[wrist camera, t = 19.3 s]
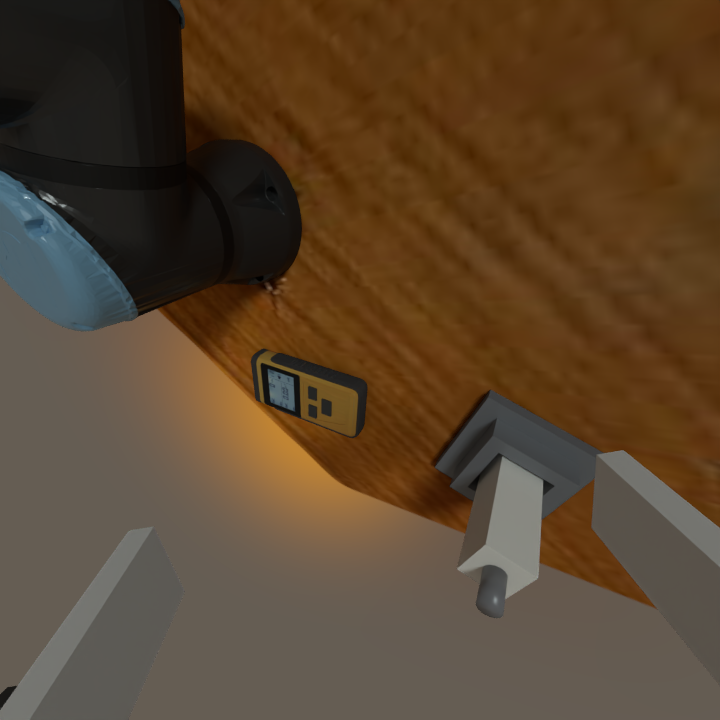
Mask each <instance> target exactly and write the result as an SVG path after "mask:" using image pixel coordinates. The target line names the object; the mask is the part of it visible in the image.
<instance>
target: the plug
mask: <svg viewBox="0 0 720 720" xmlns="http://www.w3.org/2000/svg"><path fill="white" fill-rule="evenodd" d="M542 496H543V479H542V478H541V477H539V476H537V475H535V474H534V473H532V472H530V471H529V470H527V469H525V468H524V467H522V466H520V465H519V464H517V463H515V462H513V461H512V460H510V459H508V458H507V457H505V456H503V455H502V454H500V453H498V454H497V455H496V456H495V457H494V459H493V460H492V461H491V462H490V463H489V464H488V465H487V466H486V467H485V468H484V469H483V471H482V472H481V473H480V477H479V481H478V485H477V489H476V493H475V497H474V501H473V505H472V509H471V513H470V517H469V521H468V525H467V530H466V534H465V538H464V542H463V546H462V550H461V554H460V558H459V562H458V566H457V569H458V570H459V571H461V572H462V573H464V574H465V575H467V576H468V577H470V578H471V579H473V580H474V581H475V582H477V583H478V584H480V585H479V590H478V595H477V601H476V606H477V608H478V609H479V610H480V611H481V612H482V613H483V614H485V615H487V616H489V617H493V618H500V617H502V616H503V612H504V604H505V599H506V598H508V597H509V596H511V595H512V594H514V593H516V592H517V591H519V590H521V589H522V588H524V587H525V586H527V585H528V584H530V583H531V582H533V581H535V580H536V579H538V573H539V554H540V535H541V516H542Z"/></svg>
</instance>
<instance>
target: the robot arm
mask: <svg viewBox="0 0 720 720" xmlns="http://www.w3.org/2000/svg"><path fill="white" fill-rule="evenodd" d="M184 25H185V18H184V13H183V10H182V7H181V5H180V0H0V276H1V277H2V278H3V279H4V280H5V281H6V282H7V283H8V285H9V286H10V287H11V288H12V289H13V290H14V291H15V292H16V293H17V294H18V295H19V296H20V297H21V298H22V299H23V300H24V301H26V302H27V303H28V304H29V305H30V306H31V307H33V308H34V309H35V310H36V311H38V312H39V313H40V314H42V315H43V316H45V317H46V318H47V319H49V320H51V321H52V322H54V323H56V324H58V325H60V326H62V327H65V328H68V329H72V330H76V331H93V330H97V329H100V328H103V327H106V326H110V325H113V324H116V323H120V322H123V321H132V320H134V319H135V318H137V317H138V316H140V315H143V314H145V313H148V312H150V311H152V310H155V309H157V308H160V307H162V306H165V305H167V304H169V303H172V302H174V301H177V300H179V299H182V298H184V297H187V296H189V295H191V294H194V293H196V292H199V291H201V290H204V289H206V288H208V287H211V286H214V285H216V284H244V285H253V284H260V283H264V282H266V281H269V280H271V279H273V278H275V277H278V276H279V275H281V274H282V273H284V272H285V271H286V270H287V269H288V268H289V267H290V266H291V264H292V263H293V261H294V259H295V257H296V255H297V252H298V249H299V246H300V241H301V230H302V228H301V214H300V208H299V204H298V200H297V197H296V194H295V191H294V189H293V187H292V184H291V182H290V180H289V179H288V177H287V175H286V174H285V172H284V170H283V169H282V168H281V166H280V165H279V164H278V163H277V161H276V160H275V159H274V158H273V157H272V156H271V155H270V154H268V153H267V152H266V151H265V150H263V149H262V148H260V147H259V146H257V145H255V144H253V143H250V142H247V141H243V140H228V139H221V140H215V141H210V142H208V143H206V144H204V145H202V146H201V147H199V148H197V149H195V150H193V151H191V152H189V153H187V154H186V133H185V109H184V85H183V62H182V38H181V29H184ZM592 529H593V530H594V531H595V533H596V534H597V535H598V536H599V538H600V539H601V540H602V541H603V542H604V544H605V545H606V546H607V547H608V549H609V550H610V551H611V552H612V554H613V555H614V556H615V557H616V558H617V560H618V561H619V562H620V563H621V565H622V566H623V567H624V568H625V570H626V571H627V572H628V573H629V574H630V576H631V577H632V578H633V579H634V581H635V582H636V583H637V584H638V586H639V587H640V588H641V589H642V590H643V592H644V593H645V594H646V595H647V597H648V598H649V599H650V600H651V602H652V603H653V604H654V605H655V606H656V608H657V609H658V610H659V611H660V613H661V614H662V615H663V616H664V618H665V619H666V620H667V621H668V622H669V624H670V625H671V626H672V627H673V629H674V630H675V631H676V632H677V634H678V635H679V636H680V637H681V638H682V640H683V641H684V642H685V643H686V645H687V646H688V647H689V648H690V649H691V651H692V652H693V653H694V654H695V655H696V657H697V658H698V659H699V661H700V662H701V663H702V664H703V666H704V667H705V668H706V669H707V670H708V672H709V673H710V674H711V675H712V677H713V678H714V679H715V680H716V682H717V683H718V684H719V685H720V528H719V527H718V526H716V525H715V524H714V523H713V522H711V521H710V520H709V519H708V518H706V517H705V516H704V515H703V514H701V513H700V512H699V511H698V510H697V509H695V508H694V507H693V506H692V505H690V504H689V503H688V502H687V501H685V500H684V499H683V498H682V497H680V496H679V495H678V494H677V493H676V492H674V491H673V490H672V489H671V488H669V487H668V486H667V485H666V484H664V483H663V482H662V481H661V480H659V479H658V478H657V477H656V476H655V475H653V474H652V473H651V472H650V471H648V470H647V469H646V468H645V467H643V466H642V465H641V464H640V463H638V462H637V461H636V460H635V459H634V458H632V457H631V456H630V455H629V454H627V453H626V452H625V451H624V450H622V451H616V452H609V453H603V454H597V456H596V470H595V485H594V499H593V514H592ZM184 593H185V591H184V588H183V587H182V584H181V582H180V580H179V578H178V576H177V574H176V572H175V570H174V568H173V565H172V564H171V561H170V559H169V557H168V555H167V553H166V551H165V549H164V547H163V545H162V542H161V540H160V538H159V536H158V534H157V532H156V530H155V528H154V527H148V528H142V529H136V530H130V531H128V533H127V534H126V535H125V537H124V538H123V540H122V541H121V542H120V544H119V545H118V547H117V548H116V549H115V551H114V552H113V554H112V555H111V556H110V558H109V559H108V561H107V562H106V563H105V565H104V566H103V567H102V569H101V570H100V572H99V573H98V575H97V576H96V577H95V579H94V580H93V581H92V583H91V584H90V586H89V587H88V589H87V590H86V591H85V593H84V594H83V596H82V597H81V598H80V600H79V601H78V603H77V604H76V605H75V607H74V608H73V609H72V611H71V612H70V614H69V615H68V616H67V618H66V619H65V621H64V622H63V623H62V625H61V626H60V627H59V629H58V630H57V632H56V633H55V634H54V636H53V637H52V639H51V640H50V642H49V643H48V644H47V646H46V647H45V648H44V650H43V651H42V653H41V654H40V655H39V657H38V658H37V659H36V661H35V662H34V664H33V665H32V666H31V668H30V669H29V671H28V672H27V673H26V675H25V676H24V678H23V679H22V680H21V682H20V683H19V685H18V686H13V687H7V688H6V689H5V690H4V691H3V692H2V693H1V694H0V720H128V719H129V717H130V714H131V712H132V710H133V708H134V705H135V703H136V701H137V699H138V696H139V694H140V692H141V690H142V687H143V685H144V683H145V681H146V678H147V676H148V674H149V672H150V669H151V667H152V665H153V663H154V660H155V658H156V655H157V654H158V651H159V649H160V647H161V645H162V642H163V640H164V637H165V636H166V633H167V631H168V629H169V627H170V624H171V622H172V620H173V618H174V615H175V613H176V611H177V608H178V606H179V604H180V602H181V600H182V597H183V595H184Z"/></svg>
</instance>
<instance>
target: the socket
mask: <svg viewBox="0 0 720 720" xmlns="http://www.w3.org/2000/svg"><path fill="white" fill-rule="evenodd" d="M498 453H500V454H502V455H503V456H505V457H507V458H508V459H510V460H512V461H513V462H515V463H517V464H519V465H520V466H522V467H524V468H525V469H527V470H529V471H530V472H532V473H534V474H535V475H537V476H539V477H541V478H542V479H543V496H542V516H541V520H542V519H543V518H545V517H546V516H547V515H548V514H550V513H551V512H552V511H554V510H555V509H556V508H557V507H559V506H560V505H561V504H563V503H564V502H565V501H566V500H568V499H569V498H570V497H571V496H573V495H574V494H575V493H577V492H578V491H579V490H580V489H582V488H583V487H584V486H585V485H587V484H588V483H589V482H591V481H592V480H593V479H594V478H595V470H596V456H597V454H603V452H601V451H599V450H597V449H595V448H594V447H592V446H590V445H588V444H586V443H585V442H583V441H581V440H579V439H578V438H576V437H574V436H572V435H570V434H569V433H567V432H565V431H563V430H562V429H560V428H558V427H556V426H554V425H553V424H551V423H549V422H547V421H545V420H544V419H542V418H540V417H538V416H537V415H535V414H533V413H531V412H529V411H528V410H526V409H524V408H522V407H520V406H519V405H517V404H515V403H513V402H512V401H510V400H508V399H506V398H504V397H503V396H501V395H499V394H497V393H495V392H494V391H492V390H490V391H489V393H488V394H487V395H486V396H485V398H484V399H483V400H482V402H481V403H480V404H479V406H478V407H477V408H476V410H475V411H474V412H473V414H472V415H471V416H470V418H469V419H468V420H467V422H466V423H465V424H464V426H463V427H462V428H461V430H460V431H459V432H458V434H457V435H456V436H455V438H454V439H453V440H452V441H451V443H450V444H449V445H448V447H447V448H446V449H445V451H444V452H443V453H442V455H441V456H440V457H439V459H438V460H437V463H436V465H435V468H436V469H438V470H439V471H441V472H443V473H444V474H446V475H447V476H449V477H451V478H452V481H451V484H450V487H451V488H453V489H454V490H456V491H458V492H459V493H461V494H462V495H464V496H466V497H467V498H469V499H470V500H472V501H474V497H475V493H476V489H477V485H478V481H479V477H480V473H481V472H482V471H483V469H484V468H485V467H486V466H487V465H488V464H489V463H490V462H491V461H492V460H493V459H494V457H495V456H496V455H497V454H498Z"/></svg>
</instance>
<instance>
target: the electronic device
mask: <svg viewBox="0 0 720 720" xmlns="http://www.w3.org/2000/svg"><path fill="white" fill-rule="evenodd" d="M251 366H252V374H253V382H254V390H255V398H256V400H257V401H259V402H262V403H265V404H267V405H269V406H272V407H275V409H277V410H280V411H282V412H285V413H287V414H290V415H293V416H295V417H298V418H300V419H303V420H305V421H308V422H311V423H313V424H316V425H318V426H321V427H324V428H326V429H329V430H331V431H334V432H336V433H339V434H342V435H344V436H347V437H349V438H354V437H356V436H358V435H359V433H360V432H361V430H362V429H363V427H364V421H365V409H366V398H367V384H366V382H365V381H364V380H362V379H360V378H357V377H354V376H351V375H348V374H344V373H341V372H338V371H335V370H332V369H329V368H326V367H323V366H320V365H317V364H313V363H310V362H307V361H304V360H301V359H298V358H295V357H292V356H289V355H286V354H282V353H275V352H272V351H269V350H266V349H261V350H260V351H258V352H257V353H255V354H254V355H253V357H252V359H251Z"/></svg>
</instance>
